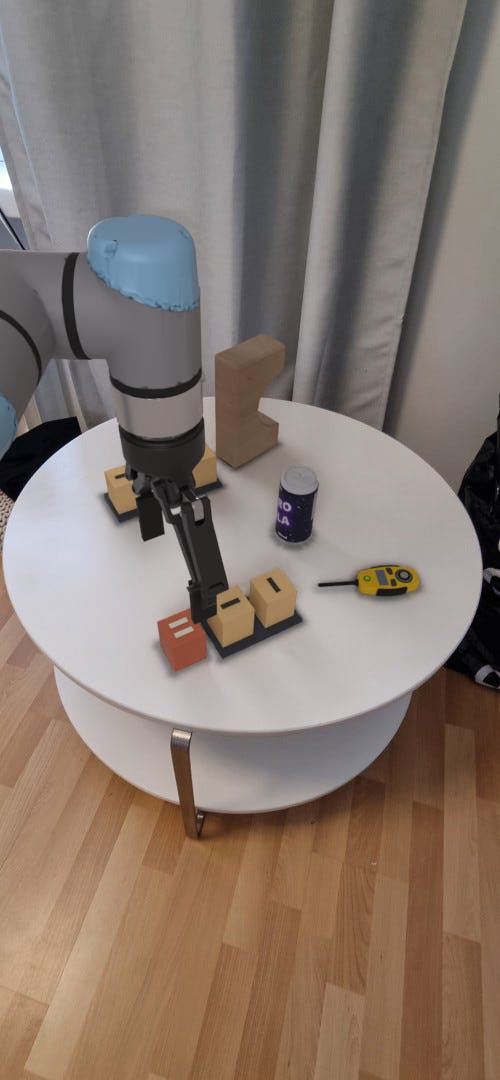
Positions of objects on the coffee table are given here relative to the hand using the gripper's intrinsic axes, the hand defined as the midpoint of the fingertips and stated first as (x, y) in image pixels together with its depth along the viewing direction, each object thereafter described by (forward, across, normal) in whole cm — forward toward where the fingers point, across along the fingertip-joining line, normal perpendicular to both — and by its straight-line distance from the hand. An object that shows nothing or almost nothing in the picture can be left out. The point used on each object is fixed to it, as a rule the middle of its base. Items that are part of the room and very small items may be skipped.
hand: (177, 574), depth 66 cm
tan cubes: (+15, +30, -10) cm, 35 cm away
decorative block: (+16, +33, -28) cm, 46 cm away
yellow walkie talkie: (+16, -3, -28) cm, 32 cm away
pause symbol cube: (+15, 0, 0) cm, 15 cm away
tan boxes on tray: (+15, 0, -10) cm, 18 cm away
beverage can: (+16, +11, -24) cm, 31 cm away
